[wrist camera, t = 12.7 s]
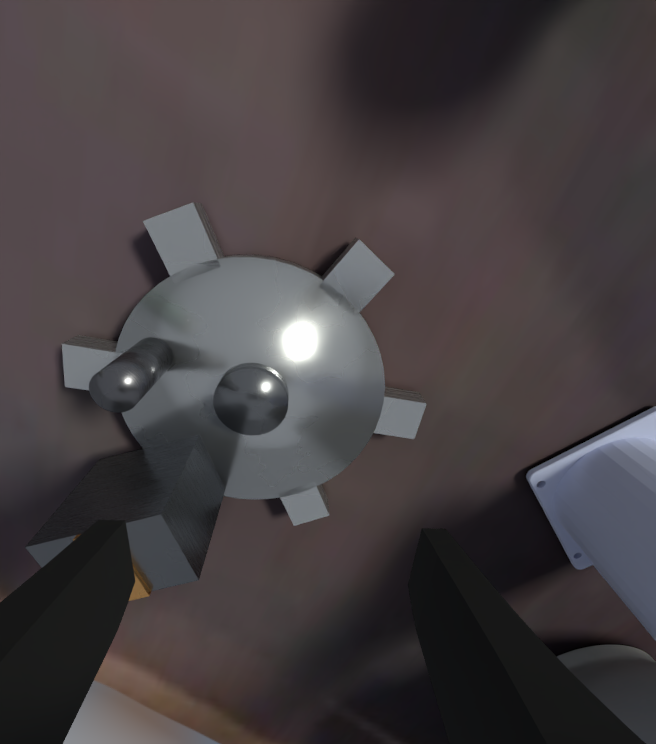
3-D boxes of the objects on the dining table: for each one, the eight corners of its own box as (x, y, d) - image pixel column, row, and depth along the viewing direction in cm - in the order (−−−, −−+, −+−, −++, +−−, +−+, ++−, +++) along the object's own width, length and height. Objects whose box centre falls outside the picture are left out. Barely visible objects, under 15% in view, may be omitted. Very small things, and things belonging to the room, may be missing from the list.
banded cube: (225, 489, 18) (197, 585, 14) (132, 512, 19) (72, 613, 14) (199, 434, 17) (159, 518, 12) (99, 459, 17) (21, 552, 13)
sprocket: (429, 190, 15) (481, 179, 10) (414, 499, 21) (442, 572, 17) (23, 214, 14) (-101, 212, 10) (133, 523, 20) (87, 605, 16)
